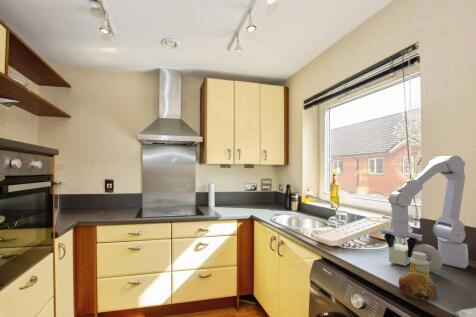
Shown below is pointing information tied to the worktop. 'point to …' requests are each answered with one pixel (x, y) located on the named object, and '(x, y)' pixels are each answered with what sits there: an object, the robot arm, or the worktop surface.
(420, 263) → the supplement bottle
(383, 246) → the worktop surface
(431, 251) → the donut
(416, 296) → the bread roll
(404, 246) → the cream white block
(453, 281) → the worktop surface
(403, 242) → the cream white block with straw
